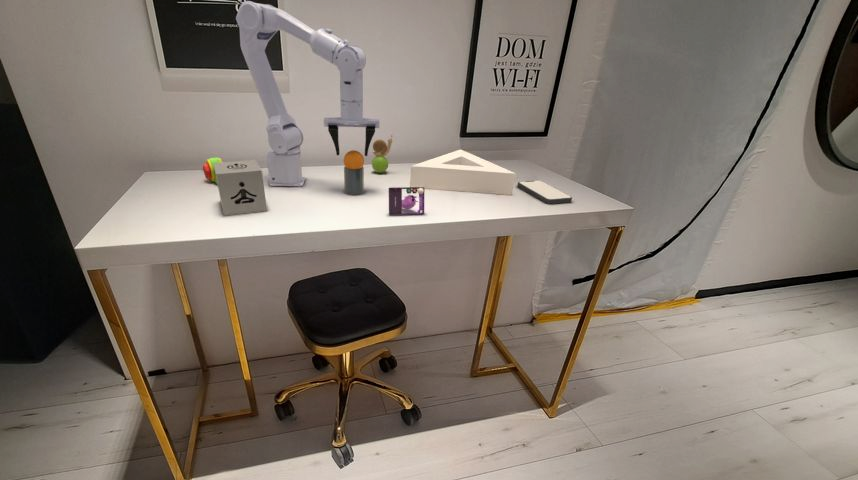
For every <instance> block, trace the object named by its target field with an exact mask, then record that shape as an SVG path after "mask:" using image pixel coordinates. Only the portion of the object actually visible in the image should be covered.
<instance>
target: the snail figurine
mask: <svg viewBox="0 0 858 480" xmlns="http://www.w3.org/2000/svg"><path fill="white" fill-rule="evenodd" d="M390 137H391V138H388V139H387V143H386V141H384V140H383V139H376V140H375V141H374V142H373V143H372V149H373V151H372V154H373V155H374V156H375V157H373V158H372V160H371V168H372V169H373V171H374V172H376V173H379V174H381V173H382V174H383V173H385V172H386V171H387V170H388V168H389V161H388V159H387V158H386V156H387V155H388V154H389V152H390V150H391V148H392V143H393V139H392V138H393V134H390Z"/></svg>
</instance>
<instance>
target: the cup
mask: <svg viewBox="0 0 858 480" xmlns="http://www.w3.org/2000/svg"><path fill="white" fill-rule="evenodd" d="M364 171H365V167H364V166H363V167H362V168H361V169H359V170H350V169H347V168H346V167H345V166H344V167H343V173H344V174H343V181H344V186H343V187H344V193H345V194H346V195H349V196H360V195H363V194H364V190H365V189H364V185H365V184H364V183H365V181H364V180H365V179H364V178H365V174H364V173H365V172H364Z"/></svg>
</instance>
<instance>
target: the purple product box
mask: <svg viewBox="0 0 858 480" xmlns="http://www.w3.org/2000/svg"><path fill="white" fill-rule="evenodd" d="M403 190H405V192H406V194H408V195H405V196H404V198H403ZM411 193H412V194H411ZM417 193H418V200H419V201H418V200H417V199H416V198H417V196H416V195H415V194H417ZM416 203H418V209H417V212H403V209H404V210H410V209H413V208H414V207H415V206H416ZM421 211H422V212H421ZM415 215H416V216H419V215H423V216H424V215H425V188H424V187H410V186H407V187H406V186H405V187H404V186H402V187H400V186H399V187H395V186H394V187H393V186H392V187H388V216H415Z"/></svg>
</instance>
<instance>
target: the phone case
mask: <svg viewBox="0 0 858 480" xmlns="http://www.w3.org/2000/svg"><path fill="white" fill-rule="evenodd" d="M516 186H517V187H518V188H519V189H521V190H522V191H524V192H526V193H528V194H529V195H531V196H532V197H534V198H535V199H538V200H540V201H541V202H543V203H544V204H546V205H547V204H548V205H556V204H566V203H571V202H572V200H573V197H572V196H571V195H569V194H567V193H565V192H563V191H561V190H559V189H557V188H555V187H554V186H552V185H550V184H548V183H547V182H544V181H543V180H538V179H537V180H523V181H518V182H517V185H516Z"/></svg>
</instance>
